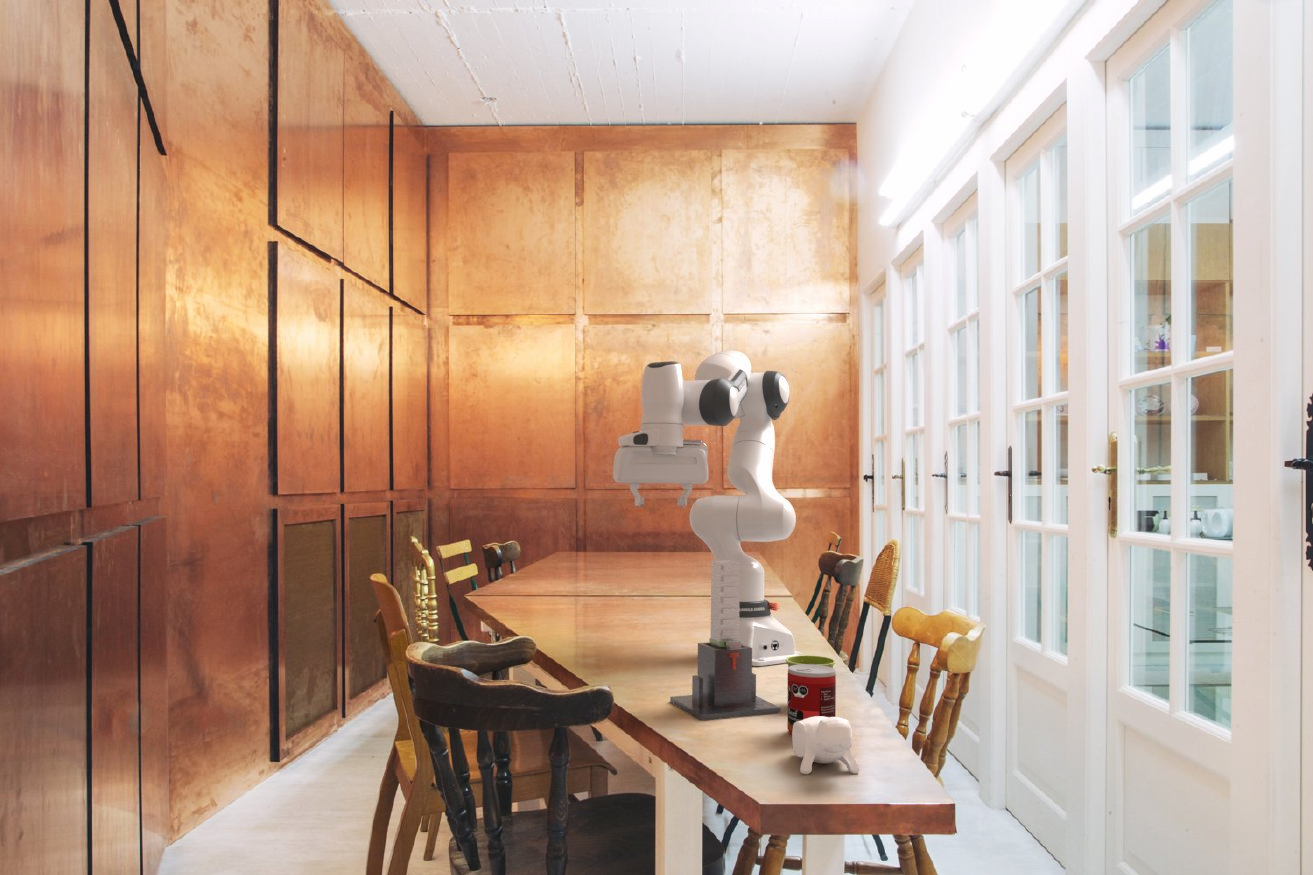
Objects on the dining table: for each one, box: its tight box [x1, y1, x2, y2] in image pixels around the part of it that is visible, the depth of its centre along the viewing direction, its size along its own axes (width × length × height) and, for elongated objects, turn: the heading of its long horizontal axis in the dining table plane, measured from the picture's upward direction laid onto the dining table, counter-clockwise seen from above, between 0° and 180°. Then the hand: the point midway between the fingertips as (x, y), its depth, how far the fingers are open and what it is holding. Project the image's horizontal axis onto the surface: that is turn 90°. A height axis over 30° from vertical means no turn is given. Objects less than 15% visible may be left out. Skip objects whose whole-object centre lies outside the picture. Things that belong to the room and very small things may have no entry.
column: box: [708, 560, 740, 649], centre depth 168 cm, size 4×5×20 cm
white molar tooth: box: [791, 716, 861, 775], centre depth 132 cm, size 8×8×15 cm
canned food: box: [787, 664, 837, 737], centre depth 150 cm, size 8×8×11 cm
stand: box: [669, 640, 781, 721], centre depth 167 cm, size 16×14×13 cm
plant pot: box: [786, 654, 837, 669], centre depth 169 cm, size 9×9×9 cm
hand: (661, 505), depth 183 cm, fingers open, 8 cm apart
